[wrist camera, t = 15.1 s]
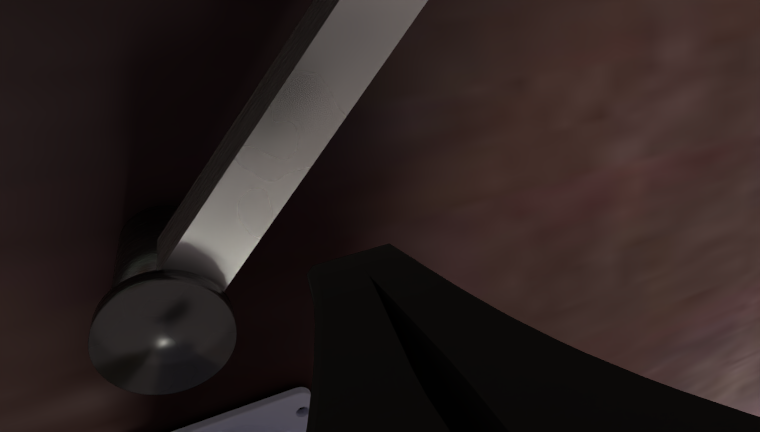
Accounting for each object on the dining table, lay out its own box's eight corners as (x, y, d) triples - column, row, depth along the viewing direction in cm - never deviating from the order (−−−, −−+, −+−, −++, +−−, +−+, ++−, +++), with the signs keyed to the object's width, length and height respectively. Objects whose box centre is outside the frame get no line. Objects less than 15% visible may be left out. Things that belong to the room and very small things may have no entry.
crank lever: (470, -345, 13) (607, -466, 9) (551, -227, 14) (698, -283, 10) (86, 264, 16) (60, 375, 12) (187, 303, 18) (193, 411, 14)
